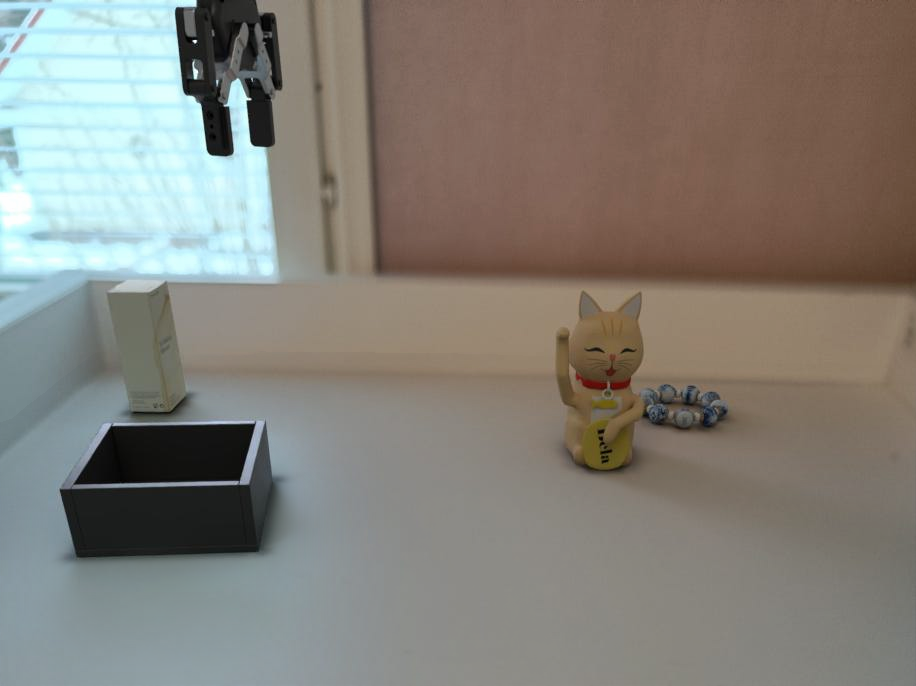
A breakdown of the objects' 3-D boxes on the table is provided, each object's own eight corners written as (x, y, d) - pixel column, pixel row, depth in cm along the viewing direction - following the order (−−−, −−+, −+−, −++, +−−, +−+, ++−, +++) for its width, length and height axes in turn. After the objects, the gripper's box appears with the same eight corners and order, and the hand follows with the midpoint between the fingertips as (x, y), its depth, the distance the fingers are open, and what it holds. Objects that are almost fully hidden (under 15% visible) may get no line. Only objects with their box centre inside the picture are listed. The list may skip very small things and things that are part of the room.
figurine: (553, 475, 84) (565, 307, 76) (543, 436, 92) (553, 281, 84) (645, 475, 84) (666, 308, 76) (627, 437, 92) (645, 282, 84)
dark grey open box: (76, 557, 69) (58, 489, 66) (116, 484, 80) (103, 423, 77) (258, 551, 70) (249, 484, 67) (272, 480, 82) (265, 420, 79)
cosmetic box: (170, 414, 95) (149, 293, 88) (128, 412, 95) (103, 291, 88) (187, 394, 100) (169, 278, 94) (147, 393, 100) (126, 277, 94)
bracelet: (621, 419, 97) (623, 401, 95) (650, 393, 104) (652, 376, 103) (712, 436, 93) (715, 417, 92) (735, 408, 100) (738, 390, 99)
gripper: (217, -70, 79) (239, 142, 88) (127, -91, 67) (163, 156, 76) (298, -69, 77) (312, 146, 86) (221, -90, 66) (246, 161, 75)
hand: (242, 151), depth 81 cm, fingers open, 8 cm apart
